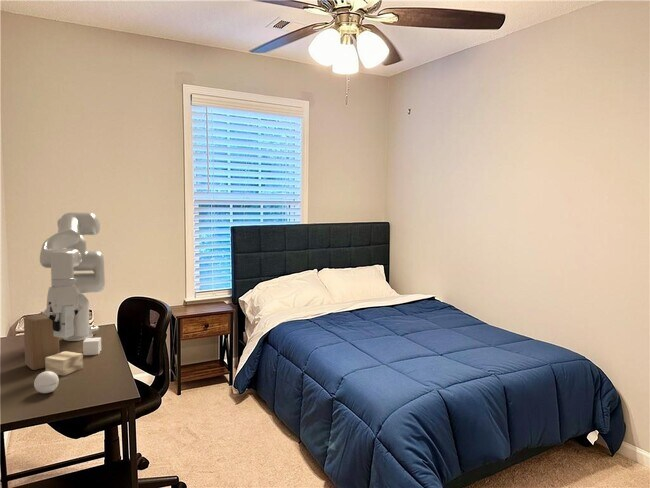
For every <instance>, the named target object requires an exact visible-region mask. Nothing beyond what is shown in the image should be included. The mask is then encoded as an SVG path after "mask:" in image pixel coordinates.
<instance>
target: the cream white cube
mask: <svg viewBox="0 0 650 488" xmlns="http://www.w3.org/2000/svg"><path fill="white" fill-rule="evenodd" d="M82 342H83V343H82V354H83V356H96V355H97V354H98V355H100V353H101V352H100V351H102V337H101V336H100V337H92V338H86V339H85V340H82Z"/></svg>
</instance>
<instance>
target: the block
mask: <svg viewBox="0 0 650 488" xmlns="http://www.w3.org/2000/svg"><path fill="white" fill-rule="evenodd" d="M50 314H51V315H52V312H50ZM23 330H24V331H23V334H24V335H23V336H24V337H23V338H24V364H25V365H26V366H27V368H29V369H30V370H32V371H36V370H41V369H46V366H45V358H46V357H49V356H52V355H55V354H58V353H60V337H54V330H53V321H52V320H51V319H50V318H48V317H47V316H45V315H43V313H41V314H40V313H39V314H32V315H31V314H30V315H26V316H24V318H23Z"/></svg>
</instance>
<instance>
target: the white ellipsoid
mask: <svg viewBox="0 0 650 488" xmlns="http://www.w3.org/2000/svg"><path fill="white" fill-rule="evenodd" d="M65 379H67V377H65V378H64V380H65ZM60 380H63V378H60V379H59V375H57V374H56V373H54V372H51V371H46V370H45V371H42V372H41V373H39V374H37V376H36V378H35V379H34V382H33V386H34V389H35V390H36V391H37V393H40V394H49V393H51V392H52V393H53V391H54V390H56V389H57V387H58V386H59V383H60Z"/></svg>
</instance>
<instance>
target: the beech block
mask: <svg viewBox="0 0 650 488" xmlns="http://www.w3.org/2000/svg"><path fill="white" fill-rule="evenodd" d="M45 366H46V368H45V371H51V372H54V373H56V374H57V376H62V377H63V376H67V375H69V374H71V373H74V372H76V371H79V370H82V369H84V355H83V353H79V352H74V351H67V350H65V351H61V352H59V353H58V354H55V355H52V356H49V357H46V358H45Z"/></svg>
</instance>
